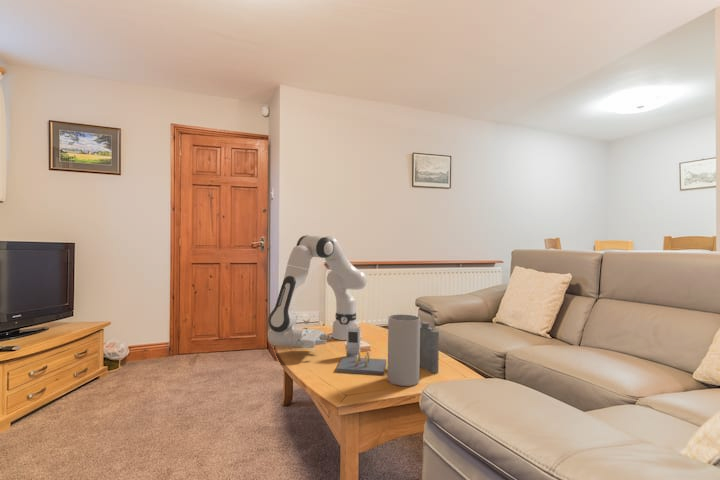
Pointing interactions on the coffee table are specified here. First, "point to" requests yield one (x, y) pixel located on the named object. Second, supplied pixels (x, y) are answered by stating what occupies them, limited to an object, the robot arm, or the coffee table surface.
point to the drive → (353, 341)
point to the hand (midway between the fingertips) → (328, 339)
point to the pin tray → (362, 365)
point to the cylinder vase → (403, 349)
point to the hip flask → (429, 348)
